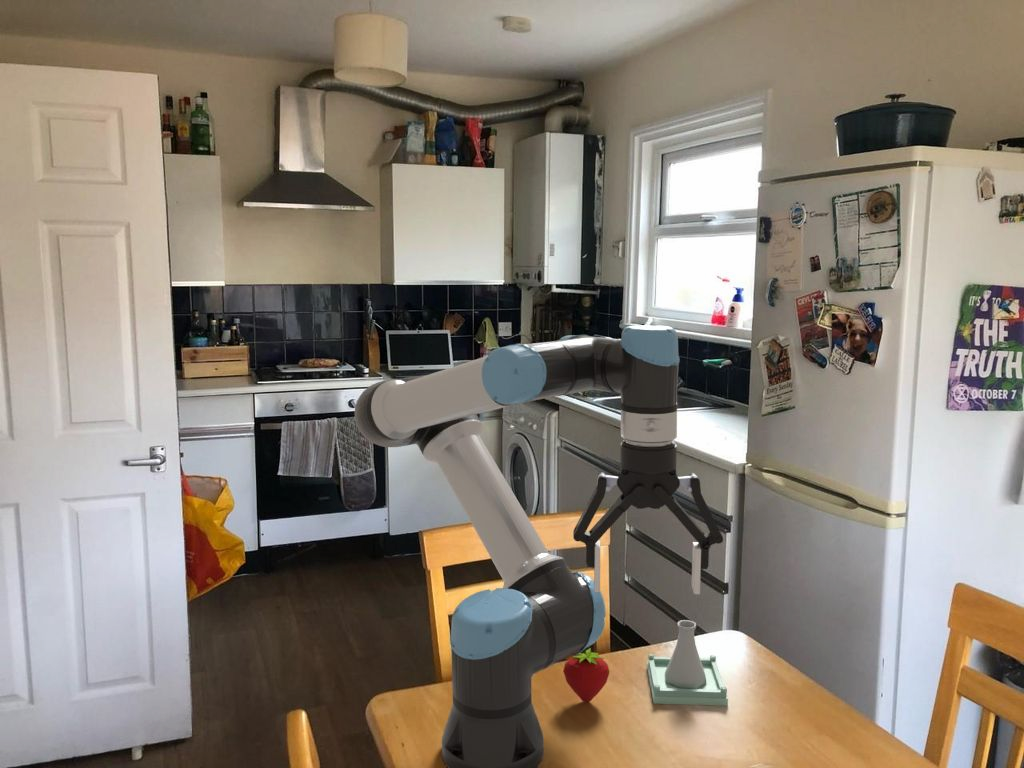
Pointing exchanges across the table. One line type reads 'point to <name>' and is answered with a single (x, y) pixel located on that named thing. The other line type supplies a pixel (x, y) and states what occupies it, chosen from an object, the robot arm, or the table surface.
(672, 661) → the flask
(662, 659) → the base board
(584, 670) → the strawberry
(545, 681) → the table surface
